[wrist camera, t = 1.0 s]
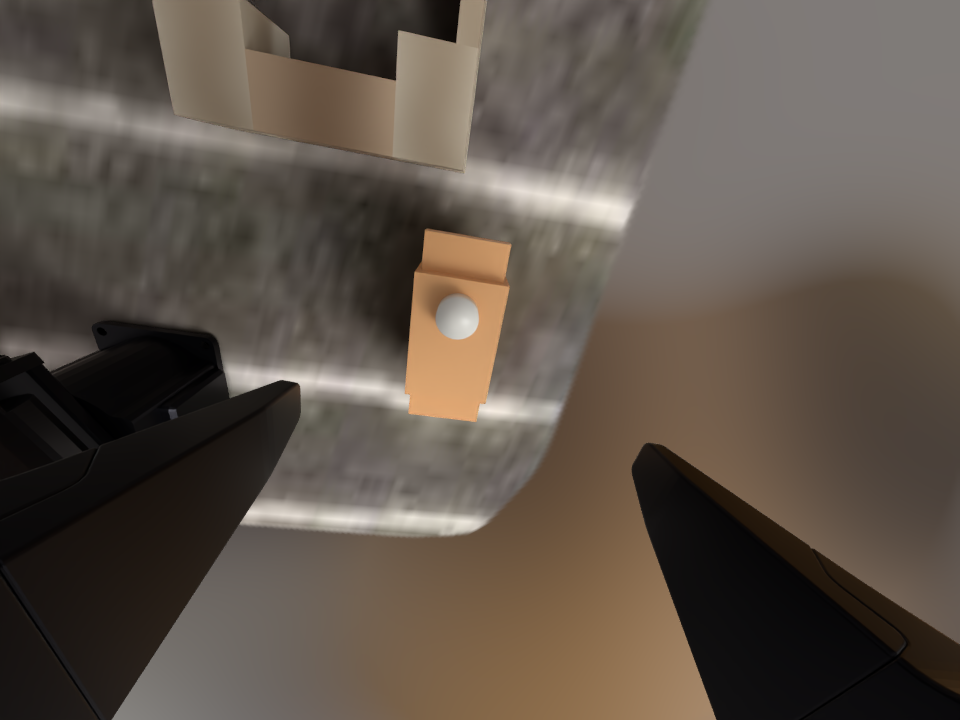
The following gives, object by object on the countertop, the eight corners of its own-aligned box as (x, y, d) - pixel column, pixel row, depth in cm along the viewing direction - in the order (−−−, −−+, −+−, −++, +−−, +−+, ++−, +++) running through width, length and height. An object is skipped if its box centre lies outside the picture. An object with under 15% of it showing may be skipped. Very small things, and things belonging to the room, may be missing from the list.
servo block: (416, 372, 22) (399, 430, 17) (431, 220, 18) (414, 233, 13) (478, 381, 22) (480, 439, 17) (506, 233, 18) (520, 251, 13)
